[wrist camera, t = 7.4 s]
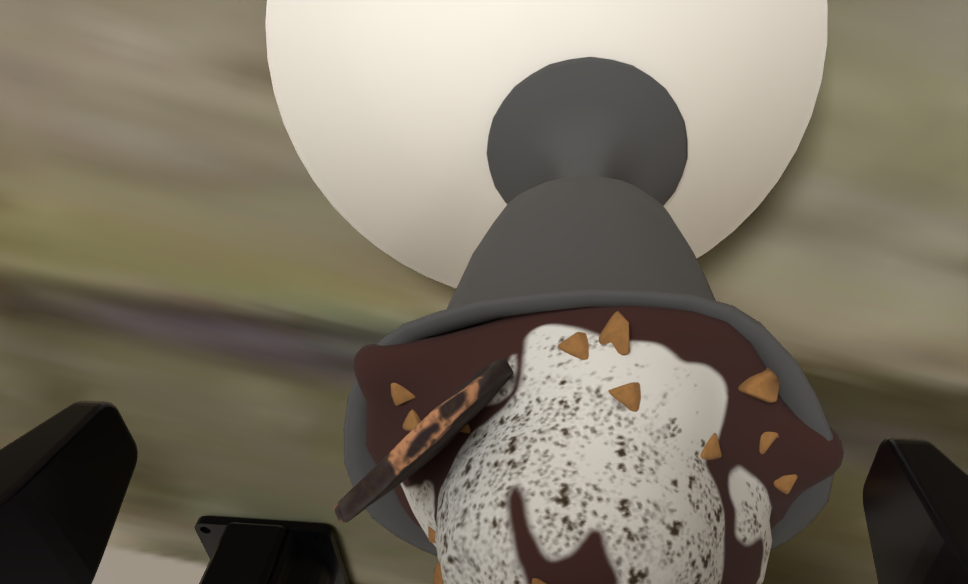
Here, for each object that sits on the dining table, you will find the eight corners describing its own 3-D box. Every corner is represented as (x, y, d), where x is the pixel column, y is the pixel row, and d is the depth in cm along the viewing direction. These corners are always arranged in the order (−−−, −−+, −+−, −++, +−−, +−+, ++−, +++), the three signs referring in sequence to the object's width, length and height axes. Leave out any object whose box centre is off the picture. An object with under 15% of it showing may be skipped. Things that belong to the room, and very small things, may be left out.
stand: (758, 266, 22) (771, 307, 20) (343, 261, 23) (325, 298, 22) (867, -285, 14) (902, -289, 12) (234, -230, 16) (193, -228, 14)
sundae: (732, 246, 19) (957, 1072, 7) (487, 275, 21) (340, 991, 9) (722, -11, 15) (1156, 825, 3) (424, 49, 17) (18, 764, 5)
